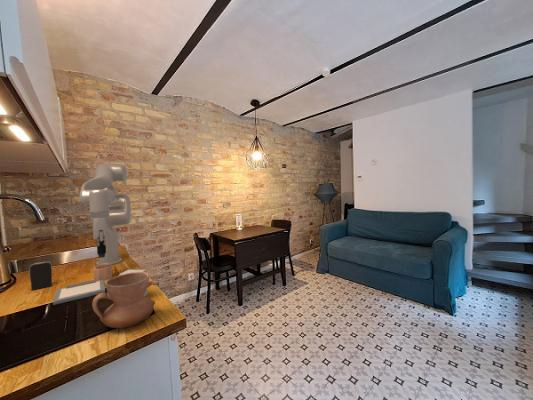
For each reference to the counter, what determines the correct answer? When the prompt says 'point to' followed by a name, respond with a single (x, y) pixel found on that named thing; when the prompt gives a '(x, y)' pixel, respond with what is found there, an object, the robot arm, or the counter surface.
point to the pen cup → (103, 272)
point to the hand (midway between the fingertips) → (101, 252)
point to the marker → (97, 250)
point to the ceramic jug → (126, 300)
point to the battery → (40, 275)
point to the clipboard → (79, 291)
